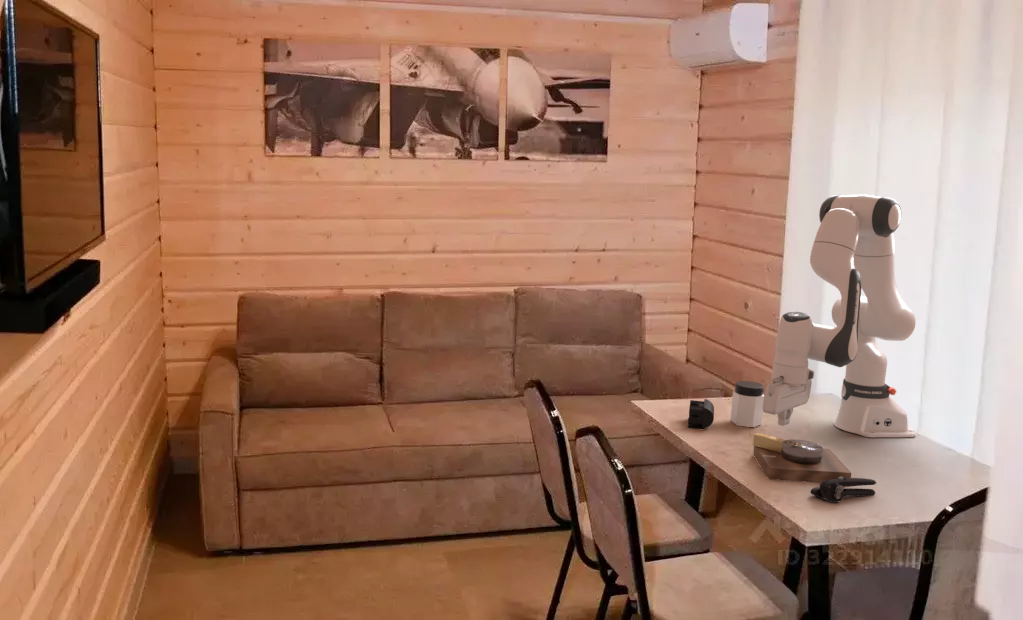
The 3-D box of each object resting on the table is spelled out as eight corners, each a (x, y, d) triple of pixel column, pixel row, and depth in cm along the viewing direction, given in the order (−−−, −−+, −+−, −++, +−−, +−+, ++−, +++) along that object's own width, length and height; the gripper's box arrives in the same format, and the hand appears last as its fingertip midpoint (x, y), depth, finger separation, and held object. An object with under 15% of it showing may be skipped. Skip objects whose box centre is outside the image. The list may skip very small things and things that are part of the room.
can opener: (826, 507, 219) (829, 484, 218) (806, 496, 225) (808, 474, 224) (885, 499, 226) (888, 477, 225) (864, 489, 232) (867, 467, 231)
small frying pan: (828, 457, 243) (829, 446, 242) (811, 466, 236) (812, 455, 235) (763, 440, 255) (765, 429, 254) (745, 448, 247) (746, 437, 247)
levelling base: (828, 459, 252) (829, 448, 251) (850, 484, 234) (851, 472, 233) (753, 455, 252) (754, 444, 252) (768, 479, 235) (770, 467, 234)
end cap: (712, 431, 272) (714, 408, 270) (687, 428, 273) (689, 406, 272) (712, 421, 281) (715, 399, 280) (688, 419, 283) (690, 397, 281)
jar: (765, 427, 277) (769, 388, 275) (739, 428, 275) (743, 388, 273) (751, 418, 286) (755, 380, 284) (726, 419, 284) (730, 380, 282)
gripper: (782, 382, 239) (776, 434, 241) (817, 371, 254) (811, 420, 256) (759, 376, 243) (753, 428, 245) (795, 366, 258) (789, 415, 260)
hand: (783, 424), depth 251 cm, fingers closed
